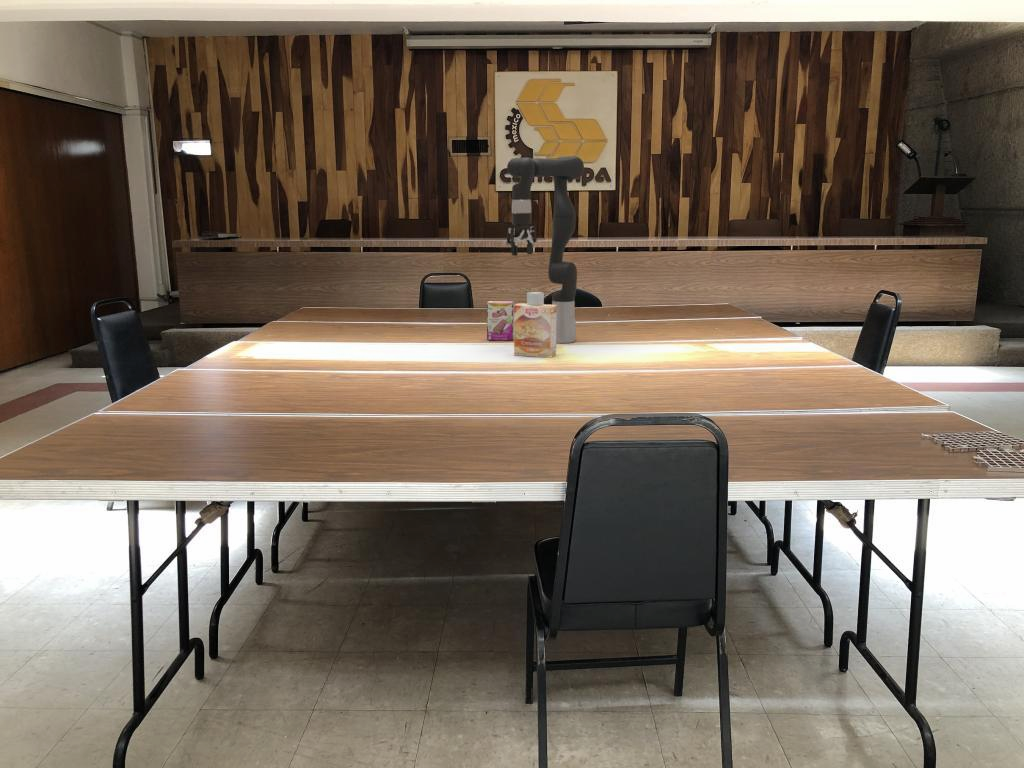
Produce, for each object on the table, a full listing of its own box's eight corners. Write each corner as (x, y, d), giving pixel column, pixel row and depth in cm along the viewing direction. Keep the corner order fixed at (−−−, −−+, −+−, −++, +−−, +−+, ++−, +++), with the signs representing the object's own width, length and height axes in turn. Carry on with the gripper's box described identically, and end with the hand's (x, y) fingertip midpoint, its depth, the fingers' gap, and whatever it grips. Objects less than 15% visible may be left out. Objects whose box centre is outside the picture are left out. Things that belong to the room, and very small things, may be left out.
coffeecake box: (513, 355, 326) (513, 304, 322) (520, 352, 333) (520, 302, 329) (550, 358, 321) (550, 306, 316) (556, 354, 327) (556, 304, 323)
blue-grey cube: (535, 303, 326) (535, 291, 325) (543, 304, 323) (543, 292, 322) (527, 304, 323) (526, 292, 322) (535, 305, 320) (535, 293, 319)
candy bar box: (486, 341, 359) (486, 302, 355) (488, 339, 363) (487, 300, 360) (513, 341, 357) (513, 302, 354) (514, 339, 362) (514, 301, 359)
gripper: (526, 211, 331) (527, 253, 335) (501, 212, 321) (502, 255, 325) (541, 211, 326) (541, 253, 330) (516, 212, 316) (516, 256, 319)
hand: (522, 254), depth 327 cm, fingers open, 8 cm apart
